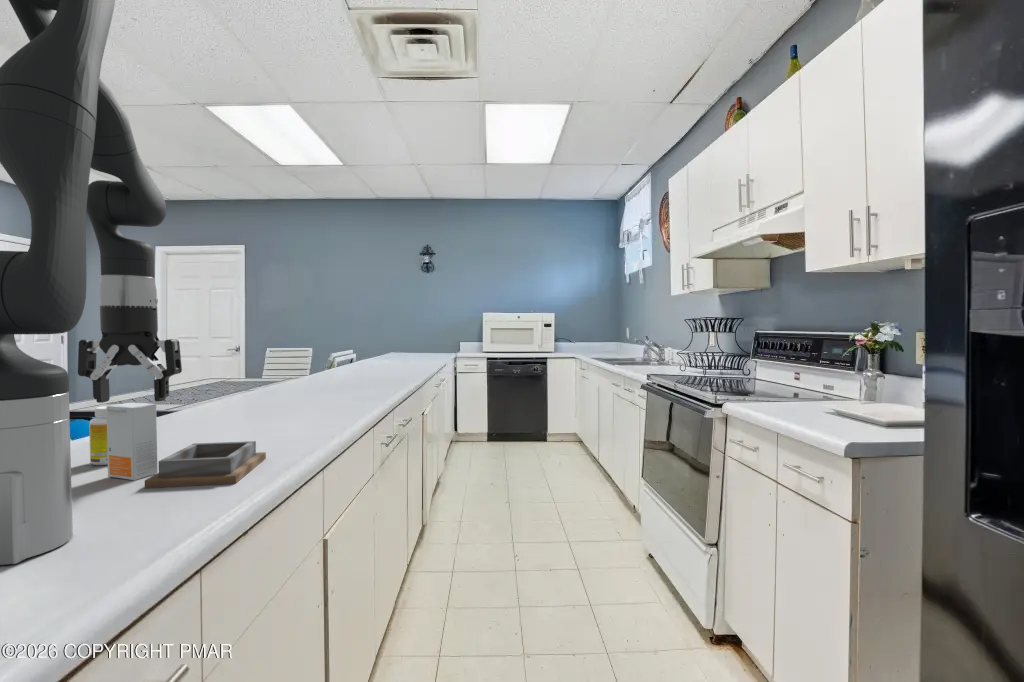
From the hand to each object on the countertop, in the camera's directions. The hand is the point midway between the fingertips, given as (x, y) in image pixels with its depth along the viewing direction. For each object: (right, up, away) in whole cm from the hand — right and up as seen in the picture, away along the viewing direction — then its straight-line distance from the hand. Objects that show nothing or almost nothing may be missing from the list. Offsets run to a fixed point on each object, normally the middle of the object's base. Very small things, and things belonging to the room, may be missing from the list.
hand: (132, 401), depth 82 cm
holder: (+12, -12, +2) cm, 17 cm away
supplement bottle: (-11, -12, +8) cm, 18 cm away
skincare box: (0, -13, 0) cm, 13 cm away
